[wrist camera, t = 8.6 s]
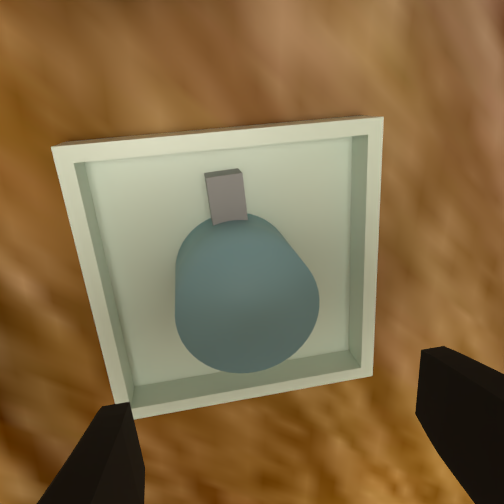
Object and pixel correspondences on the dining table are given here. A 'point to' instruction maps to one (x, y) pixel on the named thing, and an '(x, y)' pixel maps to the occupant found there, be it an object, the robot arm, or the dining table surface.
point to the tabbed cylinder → (241, 286)
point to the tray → (197, 211)
